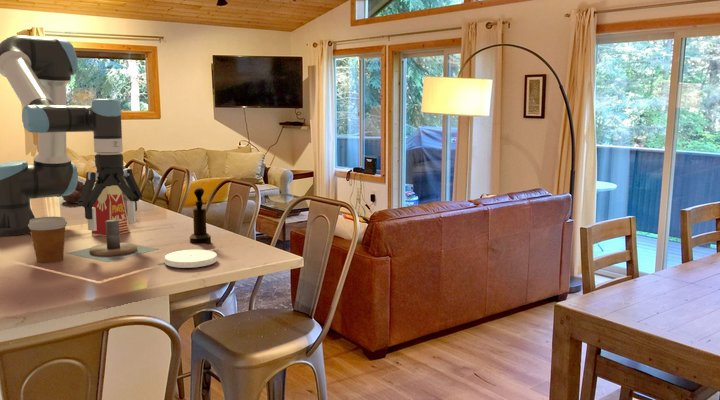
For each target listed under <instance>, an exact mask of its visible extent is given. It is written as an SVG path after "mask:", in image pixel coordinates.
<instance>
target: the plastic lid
mask: <svg viewBox="0 0 720 400" xmlns="http://www.w3.org/2000/svg"><path fill="white" fill-rule="evenodd" d="M217 261H218V254H217V253H216V252H215V251H213V250H208V249H207V250H206V249H183V250H176V251H173V252H170V253H167V254H166V255H165V256H164V264H165V265H167V266H168V267H172V268H179V269H180V268H183V269H186V268H199V267H206V266H210V265H213V264H215V263H216V262H217Z"/></svg>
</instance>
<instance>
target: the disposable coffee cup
mask: <svg viewBox="0 0 720 400" xmlns="http://www.w3.org/2000/svg"><path fill="white" fill-rule="evenodd" d="M67 224H68V222H67V221H66V218H65V217H63V216H41V217H35V218H34V219H31V220H30V221H29V224H28V227H29V229H30V231H31V233H30V235H31V239H32V245H33V249H34V254H35V258H36V262H37V263H39V264H40V263H41V264H53V263H58V262H61V261H63V260H64V250H65V237H66V235H65V234H66V227H67Z"/></svg>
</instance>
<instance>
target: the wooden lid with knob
mask: <svg viewBox="0 0 720 400" xmlns="http://www.w3.org/2000/svg"><path fill="white" fill-rule="evenodd" d="M120 235H121V234H119V220H107V221H106V236H105V237H106V243H103V244H97V245H93V246H91V247H89V248H90V249H89V253H90V254H91V255H94V256H120V255H126V254H130V253H133V252H136V251H137V245H138V244H135V243H131V242H125V243H120V242H121V237H120Z"/></svg>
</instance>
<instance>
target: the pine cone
mask: <svg viewBox="0 0 720 400" xmlns="http://www.w3.org/2000/svg"><path fill="white" fill-rule="evenodd" d="M83 187H84V182H83V181H80V180H78V182H77V186H76V189H75V190H74V192H73V193H72V194H70V195H65V196H61V197H62V198H63V200H64V201H65V202H66V203H73V204H78V201H79V198H80V195H81V192H82V190H83Z"/></svg>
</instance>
